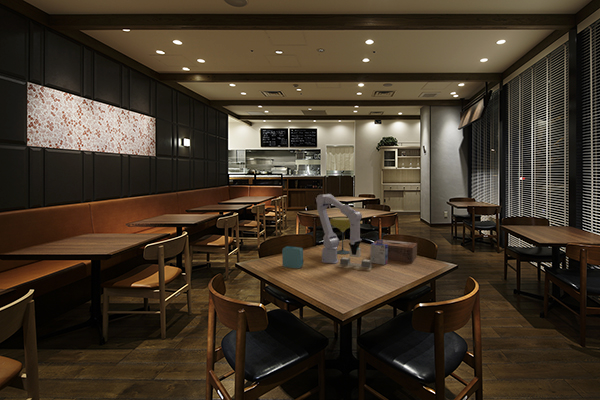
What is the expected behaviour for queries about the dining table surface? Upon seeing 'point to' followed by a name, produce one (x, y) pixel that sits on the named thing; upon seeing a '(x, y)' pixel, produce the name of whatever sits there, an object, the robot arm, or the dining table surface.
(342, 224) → the cocktail glass
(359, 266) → the din rail
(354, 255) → the block
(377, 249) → the ink cartridge box
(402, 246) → the tissue box cover
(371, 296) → the dining table surface
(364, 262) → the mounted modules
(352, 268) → the rail board
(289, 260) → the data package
